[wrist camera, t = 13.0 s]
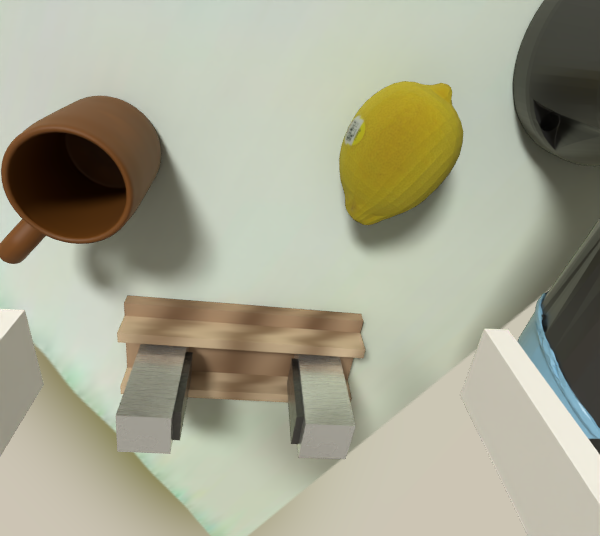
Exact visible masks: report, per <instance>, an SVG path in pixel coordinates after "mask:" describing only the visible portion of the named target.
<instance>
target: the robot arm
mask: <svg viewBox="0 0 600 536" xmlns="http://www.w3.org/2000/svg"><path fill="white" fill-rule="evenodd" d="M514 100H515V106H516V110H517V114H518V116H519V119H520V121H521V124H522V126H523V127H524V129H525V131H526V132H527V134H528V135H529V136H530V137H531V139H532V140H533V141H534V142H535V143H536V144H538V145H539V146H540V147H542V148H543V149H545V150H546V151H548V152H550V153H552V154H554V155H556V156H558V157H560V158H562V159H564V160H566V161H569V162H572V163H576V164H580V165H585V166H600V0H544V1H543V3H542V4H541V6H540V7H539V9H538V10H537V12H536V14H535V15H534V17H533V19H532V21H531V23H530V25H529V26H528V29H527V31H526V33H525V35H524V38H523V41H522V43H521V46H520V49H519V53H518V57H517V60H516V66H515V72H514ZM43 385H44V383H43V380H42V376H41V372H40V368H39V364H38V360H37V356H36V352H35V348H34V344H33V340H32V336H31V333H30V329H29V325H28V321H27V317H26V313H25V310H12V309H0V456H1V454H2V453H3V451H4V449H5V448H6V446H7V445H8V443H9V441H10V439H11V438H12V436H13V435H14V433H15V431H16V430H17V428H18V426H19V425H20V423H21V421H22V420H23V418H24V416H25V415H26V413H27V411H28V410H29V408H30V406H31V405H32V403H33V402H34V400H35V398H36V396H37V395H38V393H39V392H40V390H41V388H42V386H43ZM460 396H461V399H462V400H463V403H464V405H465V407H466V409H467V411H468V413H469V415H470V417H471V419H472V421H473V423H474V426H475V428H476V430H477V432H478V434H479V436H480V438H481V440H482V442H483V444H484V446H485V448H486V450H487V452H488V455H489V457H490V459H491V460H492V463H493V465H494V467H495V469H496V471H497V473H498V475H499V477H500V479H501V481H502V484H503V486H504V488H505V490H506V492H507V494H508V496H509V498H510V500H511V502H512V504H513V506H514V509H515V511H516V513H517V515H518V517H519V519H520V521H521V523H522V525H523V527H524V529H525V531H526V533H527V535H528V536H600V219H599V220H598V222H597V223H596V225H595V226H594V228H593V229H592V230H591V232H590V233H589V235H588V236H587V238H586V239H585V241H584V242H583V244H582V245H581V247H580V248H579V249H578V251H577V252H576V254H575V255H574V256H573V258H572V259H571V261H570V262H569V264H568V265H567V266H566V268H565V269H564V271H563V272H562V273H561V275H560V276H559V278H558V279H557V280H556V282H555V283H554V285H553V286H552V288H551V289H550V290H549V291H548V292H546V293H544V294H542V296H541V297H540V298H539V300H538V301H537V304H536V310H535V312H534V314H533V316H532V317H531V319H530V321H529V322H528V324H527V325H526V327H525V329H524V330H523V332H522V334H521V336H520V337H519V339H518V341H516V339H515V338H514V336H513V335H512V334H511V332H510V331H509V330H507V329H484V330H483V333H482V336H481V339H480V341H479V344H478V347H477V350H476V352H475V355H474V358H473V361H472V364H471V367H470V370H469V372H468V375H467V377H466V381H465V383H464V386H463V389H462V392H461V394H460Z"/></svg>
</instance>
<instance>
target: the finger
mask: <svg viewBox="0 0 600 536" xmlns="http://www.w3.org/2000/svg"><path fill="white" fill-rule="evenodd" d="M287 393H288V407H289V421H290V436H291V444H297V448H298V458H328V459H346V456H347V452H348V449H349V446H350V443H351V439H352V436H353V433H354V429H355V422H354V417H353V413H352V408H351V404H350V400H349V395H348V391H347V386H346V382H345V377H344V373H343V368H342V364H341V360H340V357H337V356H322V355H307V354H294V358H291V363H290V369H289V374H288V380H287Z"/></svg>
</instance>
